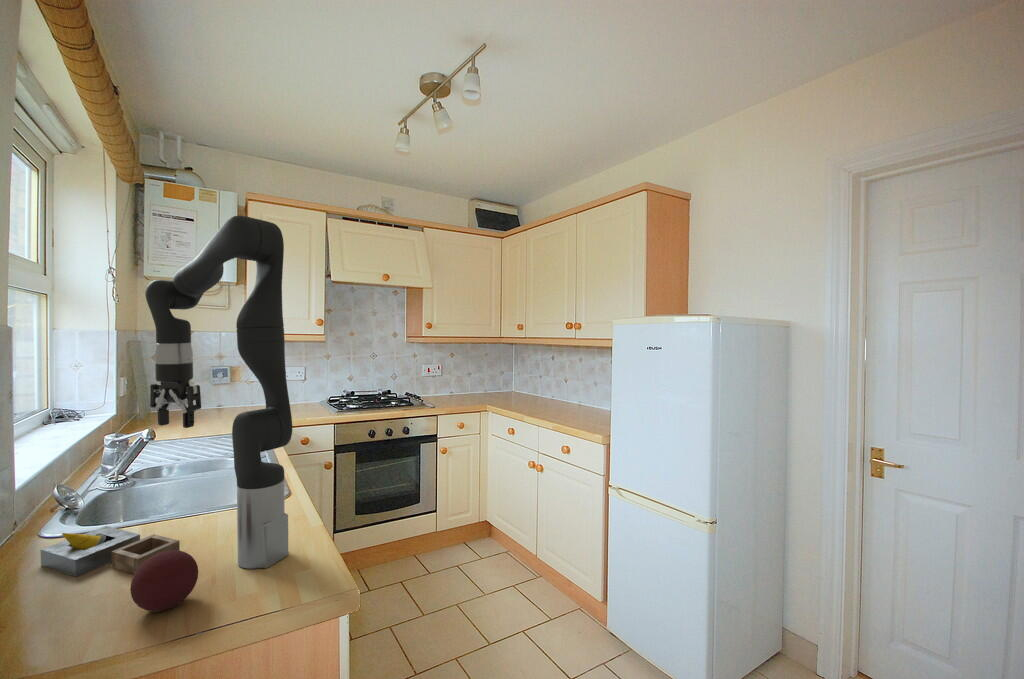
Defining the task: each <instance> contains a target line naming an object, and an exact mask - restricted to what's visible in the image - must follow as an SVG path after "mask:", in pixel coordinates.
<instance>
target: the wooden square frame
mask: <svg viewBox="0 0 1024 679" xmlns="http://www.w3.org/2000/svg"><path fill="white" fill-rule="evenodd" d="M168 550H180V551H181V549H180V540H178V539H174V538H171V537H168V536H162V535H160V534H155V533H154V534H151V535H149V536H146V537H144V538H140V540H139V541H136V542H134V543H131V544H129V545H126V546H124V547H121V548H119V549H116V550H114V551H111V554H112V562H111V568H112V569H115V570H118V571H123V572H125V573H129V574H132V575H134V574H135V573H136V571H137V570H138V568H139V567H140V566H141V565H142V564H143V563H144V562H145V561H146V560H148V559H149V558H150V557H152V556H154V555H156V554H158V553H160V552H164V551H168Z"/></svg>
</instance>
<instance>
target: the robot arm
mask: <svg viewBox="0 0 1024 679" xmlns="http://www.w3.org/2000/svg"><path fill="white" fill-rule="evenodd" d="M284 243H285V242H284V236H283V232H282V230H281V228H280V227H279V226H278V225H277V224H276V223H274V222H271V221H268V220H263V219H259V218H255V217H252V216H251V217H250V216H246V215H233V216H232V217H230V218H228V219H227V220H226V221H225V222H224V223H223V224H222V225H220V226H219V228H218V229H217V231H216V232H215V233H214V234H213V236H212V237H211V238H210V240H208V242H207V243H206V245H205V246H204V247H203V249H202V250H201V251H200V253H199V254H198V255H197V256H195V257H194V259H192V260H190V262H188V263H187V264H185V265H184V266H183V267H182V268H180V269H179V270H178V271H177V272H176V273H175V274H173V278H172V280H167V279H166V280H165V279H154V280H152V281H151V282H149V283H148V285H147V286H146V289H145V292H144V294H145V300H146V303H147V306H148V308H149V310H150V314H151V317H152V320H153V323H154V326H155V351H154V357H155V358H154V359H155V360H154V361H155V362H154V363H155V366H154V367H155V381H156V382H159V383H152V384H150V386H149V387H150V390H149V392H150V393H149V395H150V397H149V400H150V401H149V406H150V408H154V409H155V411H156V412H157V425H158V426H159V427H160V426H161V427H162V426H166V425H167V426H168V425H169V424H170V410H169V407H170V406H171V404H172V403H175V405H177V406H178V407H180V409H181V410H182V412H183V413H182V427H183V429H187V428H188V429H189V428H192V427H194V425H195V412H196V411H197V410H201V409H202V398H201V387H200V385H199V384H197V385H196V384H195V385H190V381H191V380H192V379H193V378H194V357H193V347H192V329H191V328H192V327H191V326H192V325H191V323H190V321H188V320H187V319H183V318H178V317H175V315H173V313H172V311H171V310H190V309H193V308H195V307H197V305H198V304H199V302H200V300H201V298H202V297H203V295H204V293H206V292H207V291H209V290H210V289H211V288H213V287H214V286H216V285H217V284H218V283H219V282H220V281H221V279H222V277H223V275H224V270H225V269H224V263H226V262H229V261H230V260H234V259H240V260H245V261H253V262H255V264H256V271H255V272H256V276H255V284H254V286H253V289H252V291H251V293H250V294H249V296H248V298H247V299H246V301H245V302H244V304H243V306H242V308H241V310H240V311H239V314H238V315H237V318H236V343H237V344H236V345H237V350H238V353H239V357H241V359H242V360H243V362H244V363H245V364H246V366H247V367H248V368H249V370H250V371H251V372H252V374H253V375H254V377H256V379H257V380H258V382H259V384H260V385H261V386H260V387H261V389H262V391H263V396H264V400H265V401H264V402H265V408H260V409H254V410H248V411H244V412H240V413H238V414H237V415H236V416H235V417H234V419H233V422H232V428H231V429H232V430H231V440H232V451H233V463H234V464H233V465H234V466H233V467H234V472H235V477H236V520H237V522H236V523H237V524H236V526H237V527H236V528H237V530H236V531H237V536H236V538H237V564H238V566H239V567H241V568H243V569H249V570H250V569H261V568H262V569H268V568H269V567H271V566H273V565H274V564H275V563H278V562H279V561H281V560H282V559H284V558H286V557H287V556H289V514H288V513H285V508H286V507H285V469H284V466H283V465H281V464H278V463H276V462H275V463H274V462H264V461H262V456H261V454H262V453H263V452H267V451H272V450H275V449H280V448H283V447H285V446H287V445H288V444H289V443H290V441H291V439H292V435H293V418H292V410H291V404H290V396H289V391H288V382H287V369H286V355H285V354H286V352H285V348H286V347H285V344H286V342H285V325H284V316H283V315H284V314H283V310H284V309H283V274H284V273H283V272H284V271H283V270H284V252H285V246H284V245H285V244H284ZM194 401H195V404H194Z"/></svg>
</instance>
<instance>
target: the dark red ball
mask: <svg viewBox="0 0 1024 679" xmlns="http://www.w3.org/2000/svg"><path fill="white" fill-rule="evenodd" d="M198 578H199V567H198V564H197V562H196V560H195V558H194V556H192V555H190V554H189V553H188V552H186V551H183V550H181V549H180V550H168V551H164V552H160V553H158V554H156V555H154V556H152V557H150V558H149V559H148V560H146V561H145V562H144V563H143V564H142V565H141V566H140V567H139V568H138V570H137V571H136V573H135V574H133V576H132V580H131V583H130V588H129V590H130V596H131V599H132V601H133V602H134V604H136V606H137V607H138V608H140V609H142V610H144V611H149V612H162V611H165V610H168V609H172V608H174V607H176V606H177V605H179V604H181V603H182V602H183V601H184V600H185V599H187V597H188V596H189V595H190V594H191V593H192V591H193V590H194V588H195V587H196V584H197V582H198Z"/></svg>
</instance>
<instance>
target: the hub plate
mask: <svg viewBox="0 0 1024 679" xmlns="http://www.w3.org/2000/svg"><path fill="white" fill-rule="evenodd" d="M82 534H83V535H90V536H91V535H96V536H97V535H99V534H102V535H104V536H106V539H105V541H104V543H102V544H100V545H97V546H94V547H92V548H89V549H87V550H81V549H77V548H74V547H73V546H72V545H71V544H70V543H69V542H68V541H67V539H65V540H63V541H61V542H57V543H55V544H52V545H49V546H46V547H44V548H41V549H40V566H42V567H45V568H48V569H51V570H55V571H57V572H59V573H63V574H66V575H68V576H69V575H70V576H73V577H75V578H76V577H79V576H81V575H83V574H86V573H88V572H90V571H93V570H95V569H98V568H100V567H103V566H105V565H107V564H109V563H112V554H111V551H114V550H116V549H119V548H121V547H124V546H126V545H129V544H131V543H134V542H136V541H139V540H141V534H140V533H135V532H132V531H128V530H124V529H121V528H116V527H112V526H108V525H105V526H103V527H100V528H97V529H94V530H91V531H88V532H86V533H82Z"/></svg>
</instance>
